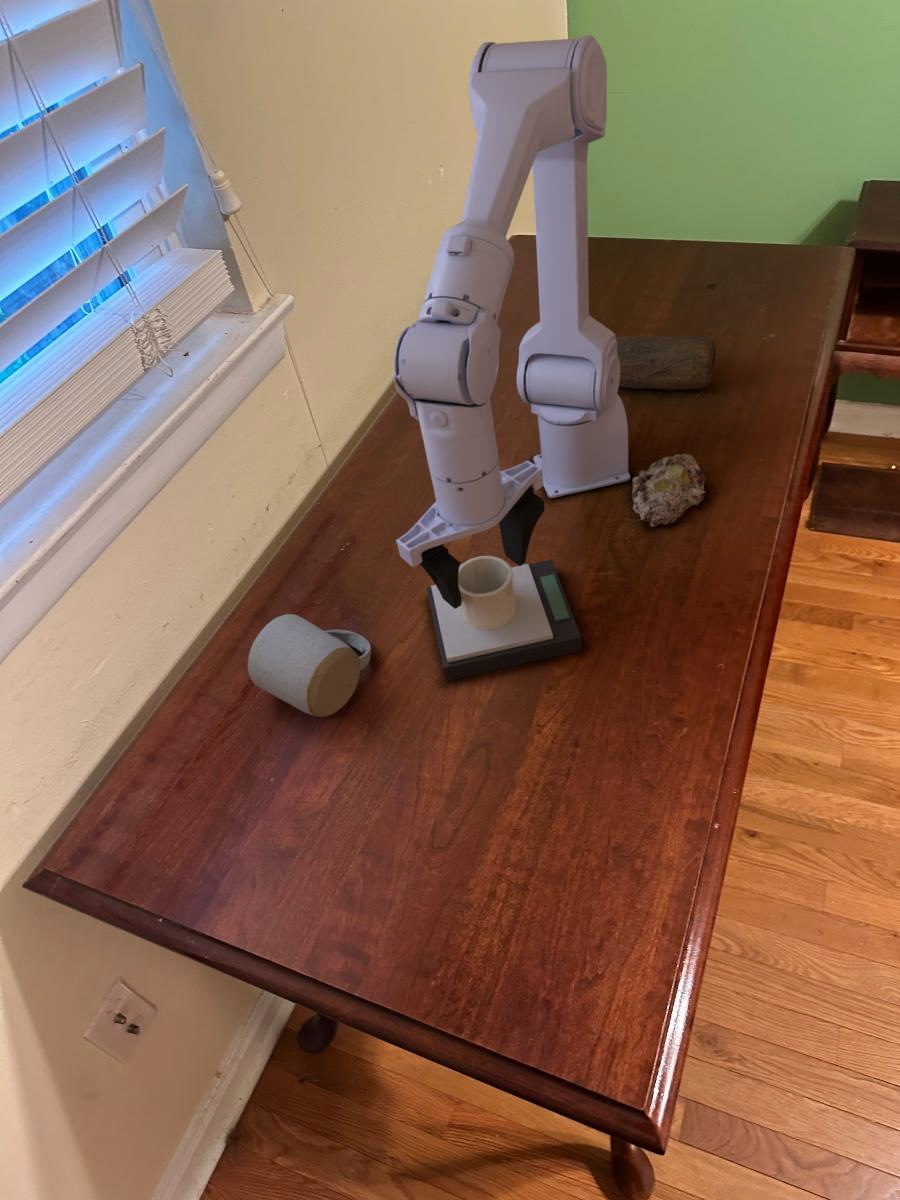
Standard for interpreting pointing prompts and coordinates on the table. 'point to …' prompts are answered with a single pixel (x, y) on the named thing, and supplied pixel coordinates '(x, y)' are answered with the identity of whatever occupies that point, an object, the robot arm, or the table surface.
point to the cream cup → (487, 592)
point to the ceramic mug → (307, 664)
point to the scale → (509, 627)
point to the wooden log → (665, 362)
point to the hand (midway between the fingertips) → (484, 580)
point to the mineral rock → (668, 489)
